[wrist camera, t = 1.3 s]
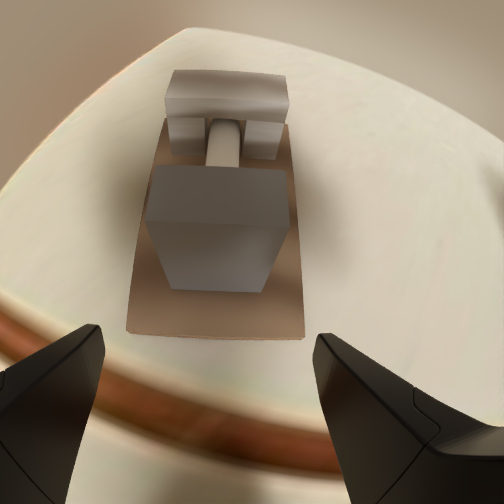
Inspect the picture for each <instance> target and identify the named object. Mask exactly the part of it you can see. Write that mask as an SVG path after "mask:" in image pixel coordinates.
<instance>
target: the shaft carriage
mask: <svg viewBox="0 0 504 504" xmlns="http://www.w3.org/2000/svg"><path fill="white" fill-rule="evenodd" d="M239 143H240V123H239V121H238V120H235V119H215V118H214V119H213V120H212V121H211V125H210V133H209V141H208V149H207V158H206V166H195V165H156V166H155V170H154V175H153V179H152V184H151V188H150V193H149V198H148V203H147V208H146V214H145V219H144V222H145V225H146V227H147V230H148V232H149V235H150V238H151V240H152V243H153V245H154V248H155V250H156V253H157V255H158V258H159V260H160V263H161V265H162V268H163V270H164V272H165V275H166V277H167V280H168V282H169V284H170V287H171V289H180V290H201V291H226V292H257V293H261V291H262V289H263V287H264V285H265V282H266V280H267V278H268V276H269V274H270V271H271V269H272V267H273V265H274V262H275V260H276V258H277V256H278V253H279V251H280V249H281V247H282V244H283V242H284V240H285V238H286V235H287V233H288V231H289V228H290V219H289V206H288V193H287V181H286V171H283V170H270V169H256V168H241V167H239Z"/></svg>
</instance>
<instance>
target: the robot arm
mask: <svg viewBox="0 0 504 504" xmlns="http://www.w3.org/2000/svg"><path fill="white" fill-rule="evenodd" d="M104 357H105V345H104V340H103V335H102V331H101V328H100V326H99V325H94V324H86V325H84V326H82V327H80V328H78V329H77V330H75V331H73V332H71V333H69V334H68V335H66V336H64V337H62V338H60V339H59V340H57V341H55V342H53V343H51V344H49V345H48V346H46V347H44V348H42V349H41V350H39V351H37V352H35V353H33V354H32V355H30V356H28V357H26V358H24V359H23V360H21V361H19V362H17V363H16V364H14V365H12V366H10V367H9V368H7V369H5V371H1V372H0V504H65V501H66V497H67V492H68V488H69V484H70V480H71V476H72V472H73V469H74V465H75V461H76V457H77V454H78V450H79V447H80V443H81V440H82V437H83V433H84V430H85V427H86V424H87V421H88V417H89V414H90V411H91V408H92V405H93V402H94V399H95V396H96V392H97V387H98V383H99V378H100V374H101V369H102V365H103V361H104ZM313 367H314V372H315V377H316V383H317V388H318V394H319V399H320V404H321V407H322V411H323V414H324V417H325V420H326V423H327V426H328V430H329V433H330V436H331V439H332V442H333V446H334V449H335V452H336V455H337V458H338V462H339V465H340V468H341V471H342V475H343V478H344V481H345V485H346V488H347V491H348V494H349V498H350V501H351V504H504V427H497V426H491V425H487V424H485V423H482V422H480V421H478V420H476V419H474V418H472V417H470V416H468V415H466V414H464V413H462V412H460V411H458V410H456V409H454V408H452V407H450V406H448V405H446V404H444V403H442V402H440V401H438V400H436V399H435V398H433V397H431V396H430V395H428V394H426V393H425V392H423V391H421V390H420V389H418V388H417V387H414V386H413V385H412V384H410V383H409V382H407V381H405V380H404V379H402V378H401V377H399V376H397V375H396V374H394V373H393V372H391V371H390V370H388V369H386V368H385V367H383V366H382V365H380V364H379V363H377V362H376V361H374V360H372V359H371V358H369V357H368V356H366V355H365V354H363V353H362V352H360V351H358V350H357V349H355V348H354V347H352V346H351V345H349V344H348V343H346V342H345V341H343V340H342V339H340V338H338V337H337V336H335V335H334V334H332V333H320V334H319V335H318V336H317V339H316V343H315V348H314V352H313Z"/></svg>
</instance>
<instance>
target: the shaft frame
mask: <svg viewBox="0 0 504 504" xmlns="http://www.w3.org/2000/svg"><path fill="white" fill-rule="evenodd" d="M165 106H166V114H167V118H165V120H164V123H163V127H162V130H161V134H160V138H159V142H158V146H157V150H156V154H155V158H154V162H153V166H152V170H151V175H150V179H149V183H148V188H147V193H146V197H145V202H144V207H143V212H142V218H141V223H140V228H139V234H138V240H137V246H136V252H135V259H134V265H133V272H132V279H131V287H130V295H129V304H128V313H127V323H126V331H128V332H129V333H131V334H142V335H154V336H168V337H183V338H203V339H231V340H301V339H303V338H304V337H305V324H304V305H303V287H302V271H301V257H300V244H299V231H298V219H297V208H296V197H295V186H294V176H293V167H292V157H291V148H290V140H289V131H288V124H285V120H286V116H287V112H288V108H289V98H288V91H287V85H286V78H285V76H282V75H273V74H264V73H252V72H239V71H220V70H174V72H173V75H172V78H171V81H170V83H169V86H168V89H167V92H166V95H165ZM209 118H215V119H235V120H238V121H239V123H240V143H239V167H241V168H256V169H270V170H283V171H286V181H287V193H288V206H289V219H290V228H289V231H288V233H287V235H286V238H285V240H284V242H283V244H282V247H281V249H280V251H279V253H278V256H277V258H276V260H275V262H274V265H273V267H272V269H271V271H270V274H269V276H268V278H267V280H266V282H265V285H264V287H263V289H262V291H261V293H257V292H226V291H201V290H180V289H171V287H170V284H169V282H168V280H167V277H166V275H165V272H164V270H163V268H162V265H161V263H160V260H159V258H158V255H157V253H156V250H155V248H154V245H153V243H152V240H151V238H150V235H149V232H148V230H147V227H146V225H145V222H144V219H145V214H146V208H147V203H148V198H149V193H150V188H151V184H152V179H153V175H154V170H155V166H156V165H195V166H206V158H207V149H208V141H209V133H210V125H211V121H212V120H213V119H209Z"/></svg>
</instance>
